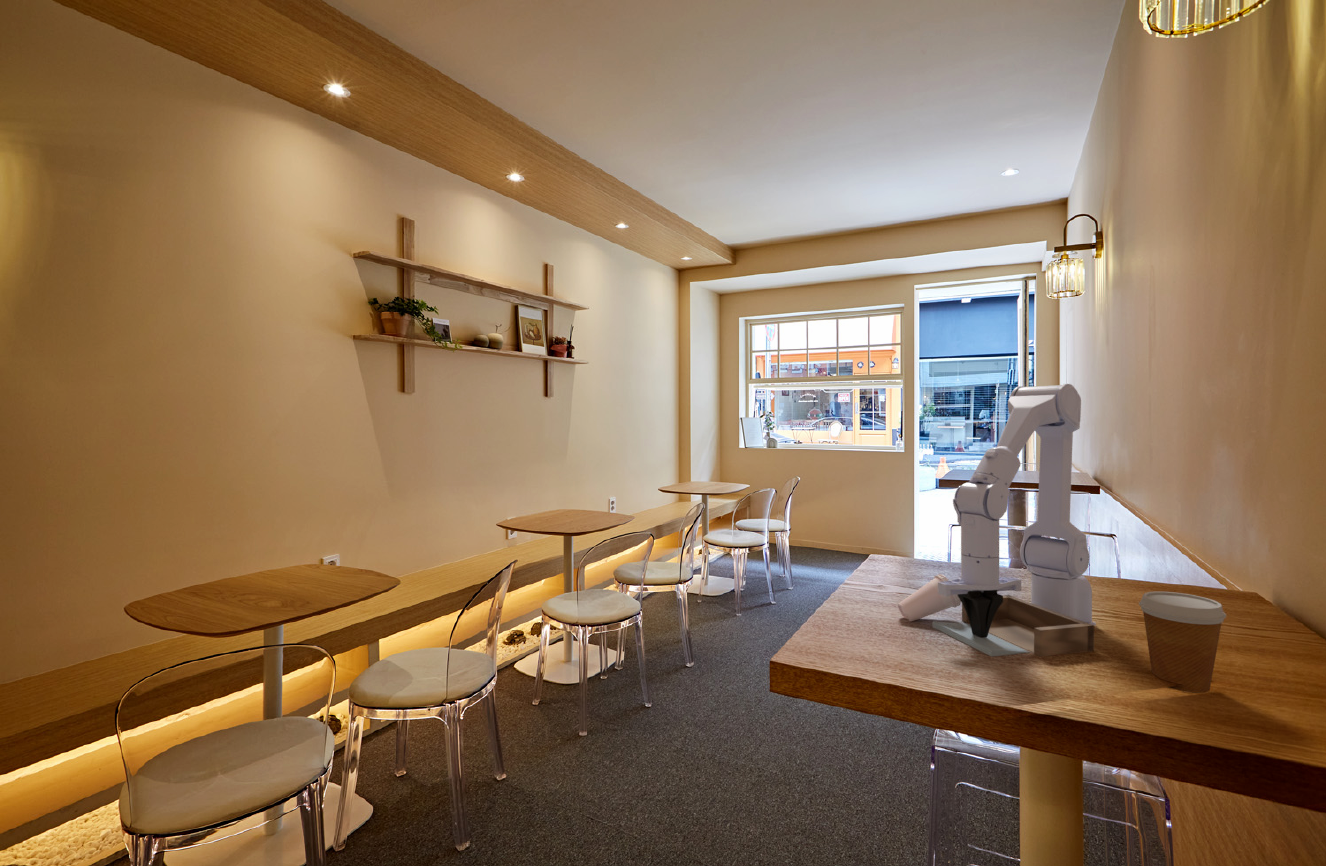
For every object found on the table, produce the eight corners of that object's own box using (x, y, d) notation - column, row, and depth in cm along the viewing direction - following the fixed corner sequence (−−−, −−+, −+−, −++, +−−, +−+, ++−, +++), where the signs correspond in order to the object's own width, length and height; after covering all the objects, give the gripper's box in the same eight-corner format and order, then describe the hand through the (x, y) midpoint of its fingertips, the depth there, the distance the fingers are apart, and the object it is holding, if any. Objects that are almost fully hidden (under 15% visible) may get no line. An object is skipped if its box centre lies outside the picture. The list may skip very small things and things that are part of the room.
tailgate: (966, 623, 112) (932, 621, 111) (1029, 652, 98) (991, 650, 97) (966, 629, 112) (932, 626, 111) (1029, 658, 98) (991, 656, 97)
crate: (1008, 621, 116) (1009, 595, 116) (1093, 656, 99) (1093, 625, 99) (962, 625, 114) (962, 598, 114) (1040, 662, 97) (1040, 630, 97)
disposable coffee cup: (1121, 671, 93) (1122, 591, 93) (1181, 669, 94) (1181, 589, 93) (1180, 700, 83) (1180, 610, 83) (1245, 696, 84) (1246, 608, 84)
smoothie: (918, 631, 111) (987, 595, 112) (899, 597, 112) (967, 562, 113) (906, 627, 117) (972, 593, 118) (889, 595, 119) (953, 562, 119)
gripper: (999, 547, 110) (999, 624, 110) (926, 552, 107) (926, 630, 107) (1031, 556, 103) (1031, 637, 103) (954, 560, 100) (954, 645, 100)
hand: (979, 635), depth 105 cm, fingers closed
